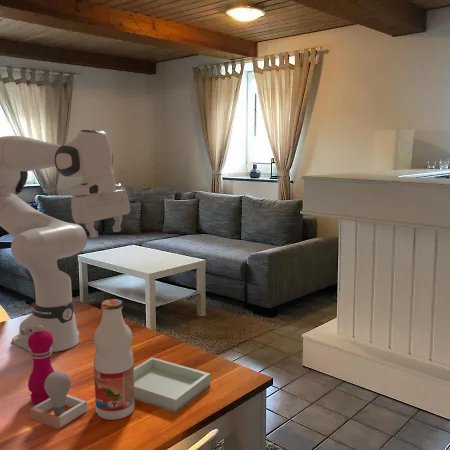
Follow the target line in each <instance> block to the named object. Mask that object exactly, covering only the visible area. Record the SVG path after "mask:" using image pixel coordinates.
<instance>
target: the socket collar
mask: <svg viewBox="0 0 450 450" xmlns="http://www.w3.org/2000/svg"><path fill="white" fill-rule="evenodd" d="M65 406H67V407H70V408H69V409H68V410H65V411H64V413H62V414H61V415H55V414H54V415H53V414H51V413H49V412H48V411H50V410H51V409H53V406H52V402H51V399H50V398H48V399H47V400H45V401H43V402H41V403H39V404H37V405H33V406H32V407H30V409H29V411H30V412H29V413H30V418H31V419H32V420H35V421H36V422H40V423H41V424H44V425H46V426H49V427H52V428H54V429H55V430H59V429H61V428H62V427H63V426H66V425H67V424H69V423H70V422H72V421H73V420H75V419H76V418H78V417H80V416H81V415H83V414H85V413H86V412H87V411H88V403H87V400H84V399H81V398H78V397H75V396H73V395H70V394H68V393H67V395H66V402H65Z"/></svg>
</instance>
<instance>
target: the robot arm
mask: <svg viewBox="0 0 450 450" xmlns="http://www.w3.org/2000/svg"><path fill="white" fill-rule="evenodd" d="M113 165H114V154H113V152H112V145H111V142H110V139H109V136H108V134H107V132H106V131H104V130H101V129H88V128H86V129H82V130H79V131H78V133H77V135H76V137H75V138H73V139H72V140H71V141H69V142H68V143H65V144H63V145H62V144H58V143H57V144H56V143H52V142H48V141H44V140H39V139H36V138H32V137H31V138H30V137H26V136H21V135H20V136H19V135H5V136H0V227H1V228H2V229H3V230H5V231H6V232H7V233H8V234H9V235H11V236H12V238H13V239H12V240H11V244H10V251H11V255H12V257H13V259H15V261H16V262H17V263H18V264H19V265H22V266H23V267H25V268H26V269H27V270H28V272H29V274H30V275H31V278H32V280H33V284H34V286H33V287H34V294H35V302H33V303H31V304H30V308H32V309H33V310H32V313H31V314H29V316H27V317H26V318H25V319H24V320H23V321H21V323H20V324H19V329H18V334H16V335H15V336H13V337H12V338H11V342H12V343H13V344H14V345H17V346H18V347H20V348H22V349H24V350H25V351H28V353H30V354H31V349H30V348H29V346H28V338H29V336H30V335H31V334H32V333H33V332H35V331H36V327H37V326H39V325H42V326H43V328H44V329H43V330H45V331H48V332H50V333H51V335H52V337H53V344H52V346H51V349H52V350H51V352H52V353H55V352H62V351H65V350H69V349H71V348H73V347H75V346H77V345H78V344H79V343H80V337H79V336H80V331H79V330H78V326H77V321H76V314H75V313H74V312H75V303H74V302H75V301H74V299H73V296H72V295H73V291H72V280H71V276H70V275H69V274H68V273H66V272H64V271H63V270H60V269H59V267H58V260H60V259H64V258H65V259H66V258H68V257H72V256H74V255H76V254H78V253H80V252H82V251H83V250H84V249H85V248H86V247H87V243H88V237H87V233H86V231H85V229H86V230H87V231H88V232H89V237H90V238H91V239H93V238H94V239H95V238H98V237H99V231H98V230H96V229H95V228H94V226H95V222H96V221H101V220H107V219H110V218H113V220H115V221H114V225H112V232H113V233H116V232H118V233H119V232H121V229H122V227H121V225H122V221H123V216H124V215H128V214H130V212H131V204H130V200H129V196H128V193H127V190H126V187H125V186H124V185H123V184H122V183H118V184H116V178H115V177H116V176H115V171H114V169H113ZM54 167H55V168H56V170H57V172H58V173H59V174H60V175H62V176H63V177H65V178H78V177H82V181H81V182H80V183H78V184H77V185H75V186H73V187H71V188H70V189H69V193H70V195H71V197H72V198H71V202H70V204H71V205H70V206H71V215H72V220H73V222H74V223H73V222H67V221H63V220H60V219H57V218H55V217H53V216H49V215H48V214H45V213H43V212H41V211H39V210H37V209H35V208H34V207H32V206H31V205H30V204H28V202H26V201H24V200H23V199H21V198H20V197H19V196H18V195H19V194H20V193H22V191H23V190H24V189H23V188H24V187H25V186H26V184H27V180H28V178H29V174H28V173H29V172H33V171H38V170H45V169H49V168H50V169H51V168H54ZM80 224H84V226H85V229H84V227H82V226H81V225H80Z"/></svg>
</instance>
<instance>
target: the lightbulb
mask: <svg viewBox="0 0 450 450" xmlns="http://www.w3.org/2000/svg"><path fill="white" fill-rule="evenodd" d="M54 371H55V370H54ZM71 386H72V380H71V378H70V375H69V374H67V373H66V372H65V371H62V370H57V371H55V372H53V373H51V374H49V375H48V377H47V378H46V380H45V383H44V388H45V391H46V393H47V394H48V395H49V397H50V399H51V402H52V406H53V408H52V410H53V414H54V415H55V416H60V415H61V414H63V413H65V412H66V410H65V408H66V405H65V402H66V395H67V394H68V393H69V391H70V389H71Z"/></svg>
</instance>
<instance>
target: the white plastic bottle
mask: <svg viewBox="0 0 450 450" xmlns="http://www.w3.org/2000/svg"><path fill="white" fill-rule="evenodd" d="M100 306H101V311H102V315H101V319H100V323H99V325H98V327H97V328H96V329H95V331H94V334H93V344H94V347H95V353H94V356H93V371H94V372H93V374H94V375H93V376H94V393H95V394H94V396H95V398H94V400H95V412H96V414H97V416H98V417H99V418H101V419H104V420H108V421H110V420H111V421H113V420H114V421H115V420H121V419H125V418H126V417H128V416H130V415H131V414H132V413H133V411H134V409H135V404H136V403H135V401H136V399H134V368H135V365H134V360H135V359H134V353H133V350H132V347H131V345H132V343H133V342H132V341H133V333H132V332H133V331H132V330H131V328H130V326H128V325H127V324H126V322H125V320H124V317H123V313H122V309H123V301H122V300H121V299H117V298H110V299H106V300H102V301H101V305H100Z"/></svg>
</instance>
